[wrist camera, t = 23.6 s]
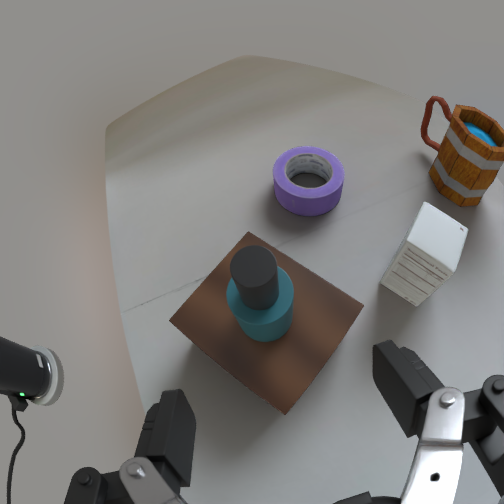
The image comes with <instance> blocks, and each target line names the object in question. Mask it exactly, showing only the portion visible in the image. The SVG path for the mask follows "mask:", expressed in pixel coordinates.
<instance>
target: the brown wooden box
mask: <svg viewBox="0 0 504 504" xmlns="http://www.w3.org/2000/svg"><path fill="white" fill-rule="evenodd" d="M250 245H259V246H263V247H265V248H267V249H269V250H270V251H271V252H272V253H273V254H274V256H275V258H276V261H277V266H278V267H280V268H282V269H283V270H284V271H285V272H286V273H287V274H288V276H289V277H290V279H291V281H292V284H293V288H294V300H293V317H292V323H291V326H290V328H289V329H288V331H287V332H286V333H285V334H284V335H283V336H282V337H280V338H278V339H276V340H274V341H269V342H260V341H256V340H254V339H252V338H250V337H249V336H247V335H246V334H245V332H244V331H243V330H242V328H241V326H240V325H239V323H238V321H237V320H236V318H235V316H234V315H233V313H232V311H231V310H230V308H229V306H228V303H227V297H226V291H227V287H228V283H229V281H230V279H231V278H232V276H231V273H230V262H231V260H232V258H233V256H234V255H235V253H236V252H237V251H239V250H240V249H242V248H244V247H246V246H250ZM363 307H364V305H363V304H362V303H360V302H358V301H357V300H355V299H354V298H352V297H351V296H349V295H348V294H346V293H345V292H343V291H341V290H340V289H338V288H337V287H335V286H334V285H332V284H331V283H329V282H327V281H326V280H324V279H323V278H321V277H320V276H318V275H317V274H315V273H313V272H312V271H310V270H309V269H307V268H306V267H304V266H302V265H301V264H299V263H298V262H296V261H295V260H293V259H291V258H290V257H288V256H287V255H285V254H284V253H282V252H280V251H279V250H277V249H276V248H274V247H272V246H271V245H269V244H268V243H266V242H265V241H263V240H261V239H260V238H258V237H257V236H255V235H253V234H252V233H250V232H249V231H248V232H247V233H246V234H245V236H244V237H243V238H242V239H241V240H240V241H239V242H238V243H237V244H236V246H235V247H234V248H233V249H232V250H231V251H230V252H229V253H228V254H227V255H226V257H225V258H224V259H223V260H222V261H221V262H220V263H219V264H218V266H217V267H216V268H215V269H214V270H213V271H212V272H211V273H210V274H209V276H208V277H207V278H206V279H205V280H204V281H203V282H202V283H201V285H200V286H199V287H198V288H197V289H196V290H195V291H194V292H193V294H192V295H191V296H190V297H189V298H188V299H187V300H186V302H185V303H184V304H183V305H182V306H181V307H180V308H179V309H178V311H177V312H176V313H175V314H174V315H173V316H172V317H171V319H170V320H169V321H170V322H171V323H172V324H173V325H174V326H175V327H177V328H178V329H179V330H180V331H181V332H182V333H183V334H184V335H185V336H186V337H188V338H189V339H190V340H191V341H192V342H193V343H194V344H196V345H197V346H198V347H199V348H200V349H201V350H202V351H204V352H205V353H206V354H207V355H208V356H210V357H211V358H212V359H213V360H214V361H215V362H217V363H218V364H219V365H220V366H222V367H223V368H224V369H225V370H226V371H228V372H229V373H230V374H231V375H233V376H234V377H235V378H236V379H238V380H239V381H240V382H241V383H243V384H244V385H245V386H247V387H248V388H249V389H250V390H252V391H253V392H254V393H256V394H257V395H258V396H260V397H261V398H262V399H264V400H265V401H266V402H268V403H269V404H271V405H272V406H273V407H275V408H276V409H277V410H279V411H280V412H282V413H283V414H284V415H286V414H287V412H288V411H289V410H290V409H291V408H292V406H293V405H294V404H295V403H296V401H297V400H298V399H299V398H300V396H301V395H302V394H303V393H304V391H305V390H306V389H307V387H308V386H309V385H310V383H311V382H312V381H313V380H314V378H315V377H316V376H317V374H318V373H319V371H320V370H321V369H322V367H323V366H324V365H325V363H326V362H327V360H328V359H329V358H330V356H331V355H332V353H333V352H334V351H335V349H336V348H337V346H338V345H339V343H340V342H341V340H342V339H343V337H344V336H345V334H346V333H347V331H348V330H349V328H350V327H351V325H352V324H353V322H354V321H355V319H356V318H357V316H358V315H359V313H360V311H361V310H362V308H363Z"/></svg>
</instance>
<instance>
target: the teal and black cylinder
mask: <svg viewBox="0 0 504 504" xmlns="http://www.w3.org/2000/svg"><path fill="white" fill-rule="evenodd" d="M230 273H231V276H232V278H231V279H230V281H229V283H228V287H227V291H226V297H227V303H228V306H229V308H230V310H231V311H232V313H233V315H234V316H235V318H236V320H237V321H238V323H239V325H240V326H241V328H242V330H243V331H244V332H245V334H246V335H247V336H249V337H250V338H252V339H254V340H256V341H260V342H269V341H274V340H276V339H278V338H280V337H282V336H283V335H284V334H285V333H286V332H287V331H288V329H289V328H290V326H291V323H292V317H293V300H294V288H293V284H292V281H291V279H290V277H289V276H288V274H287V273H286V272H285V271H284V270H283V269H282V268H280V267H278V266H277V261H276V258H275V256H274V254H273V253H272V252H271V251H270V250H269V249H267V248H265V247H263V246H259V245H250V246H246V247H244V248H242V249H240V250H239V251H237V252H236V253H235V255H234V256H233V258H232V260H231V262H230Z"/></svg>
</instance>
